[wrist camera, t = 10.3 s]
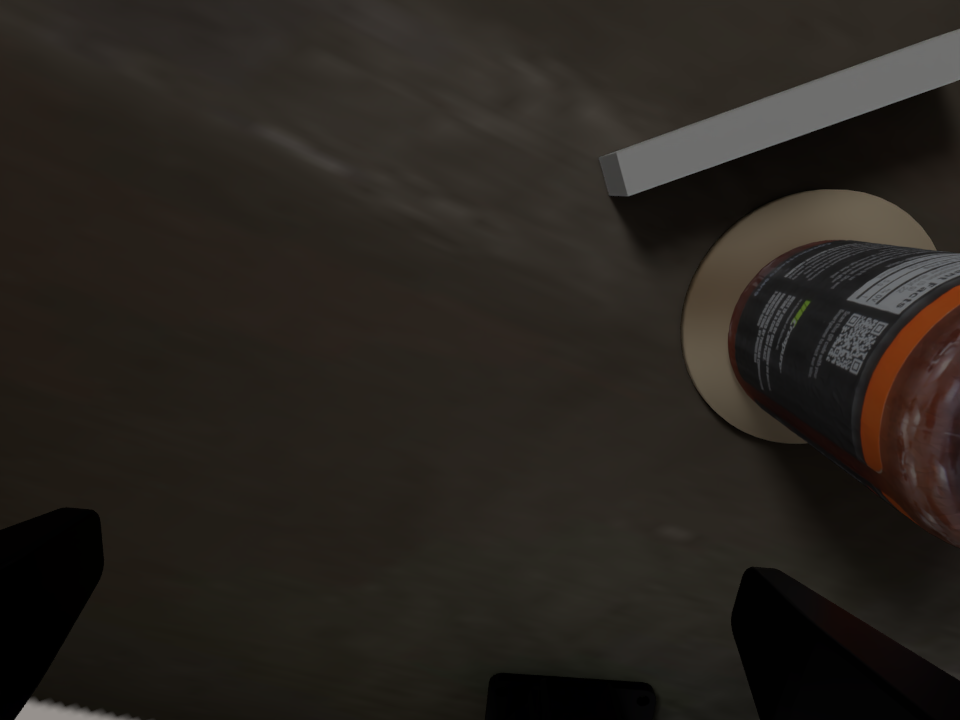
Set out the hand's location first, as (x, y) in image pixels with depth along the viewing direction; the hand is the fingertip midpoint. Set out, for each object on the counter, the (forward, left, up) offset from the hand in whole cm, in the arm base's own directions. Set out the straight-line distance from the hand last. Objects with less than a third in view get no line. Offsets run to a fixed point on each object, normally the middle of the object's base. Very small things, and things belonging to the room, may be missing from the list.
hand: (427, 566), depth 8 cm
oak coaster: (+2, -12, -12) cm, 17 cm away
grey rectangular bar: (+8, -9, -12) cm, 17 cm away
